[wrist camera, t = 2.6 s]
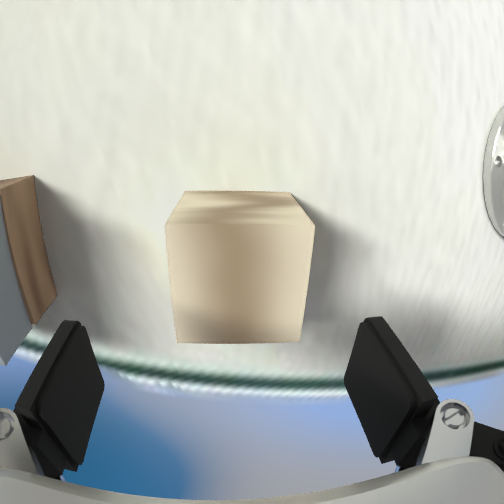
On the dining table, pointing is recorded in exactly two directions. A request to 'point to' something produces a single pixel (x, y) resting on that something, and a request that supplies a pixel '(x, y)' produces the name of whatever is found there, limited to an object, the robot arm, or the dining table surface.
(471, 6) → the dining table surface
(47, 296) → the walnut block
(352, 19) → the dining table surface
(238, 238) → the maple cube
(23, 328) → the slate block
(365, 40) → the dining table surface
